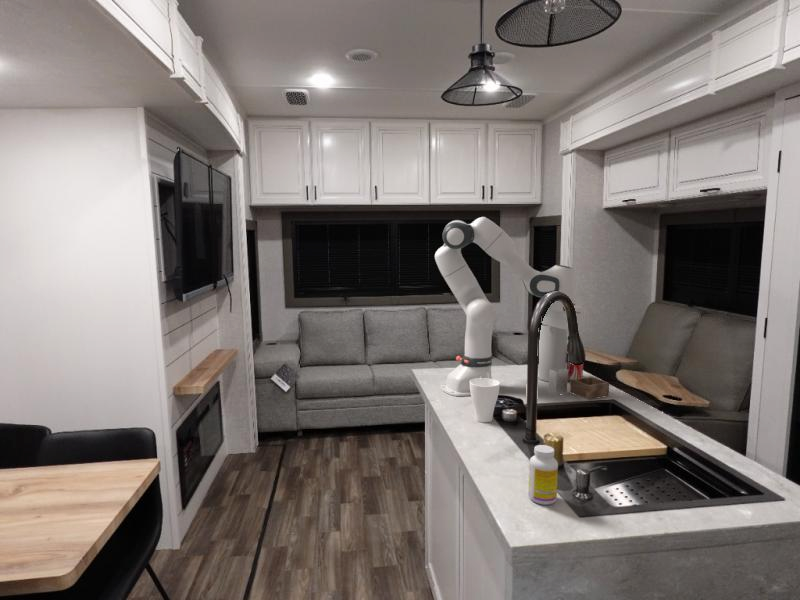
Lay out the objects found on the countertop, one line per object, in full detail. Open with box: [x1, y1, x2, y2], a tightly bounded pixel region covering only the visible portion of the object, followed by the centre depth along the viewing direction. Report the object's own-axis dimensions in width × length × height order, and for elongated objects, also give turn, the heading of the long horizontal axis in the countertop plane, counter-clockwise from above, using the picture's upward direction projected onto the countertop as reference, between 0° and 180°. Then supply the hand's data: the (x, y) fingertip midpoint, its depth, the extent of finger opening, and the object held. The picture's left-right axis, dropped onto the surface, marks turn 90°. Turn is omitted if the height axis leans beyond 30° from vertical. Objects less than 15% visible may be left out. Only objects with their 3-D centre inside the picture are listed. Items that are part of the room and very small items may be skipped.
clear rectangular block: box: [548, 368, 569, 396], centre depth 205 cm, size 6×4×10 cm, turn 114°
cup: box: [470, 378, 501, 423], centre depth 175 cm, size 10×10×14 cm
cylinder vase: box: [538, 324, 569, 383], centre depth 226 cm, size 12×12×25 cm
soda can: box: [566, 360, 584, 382], centre depth 224 cm, size 7×7×13 cm
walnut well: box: [569, 376, 610, 400], centre depth 205 cm, size 11×10×6 cm
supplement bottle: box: [528, 444, 559, 506], centre depth 122 cm, size 7×7×13 cm
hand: (560, 339), depth 203 cm, fingers open, 8 cm apart
